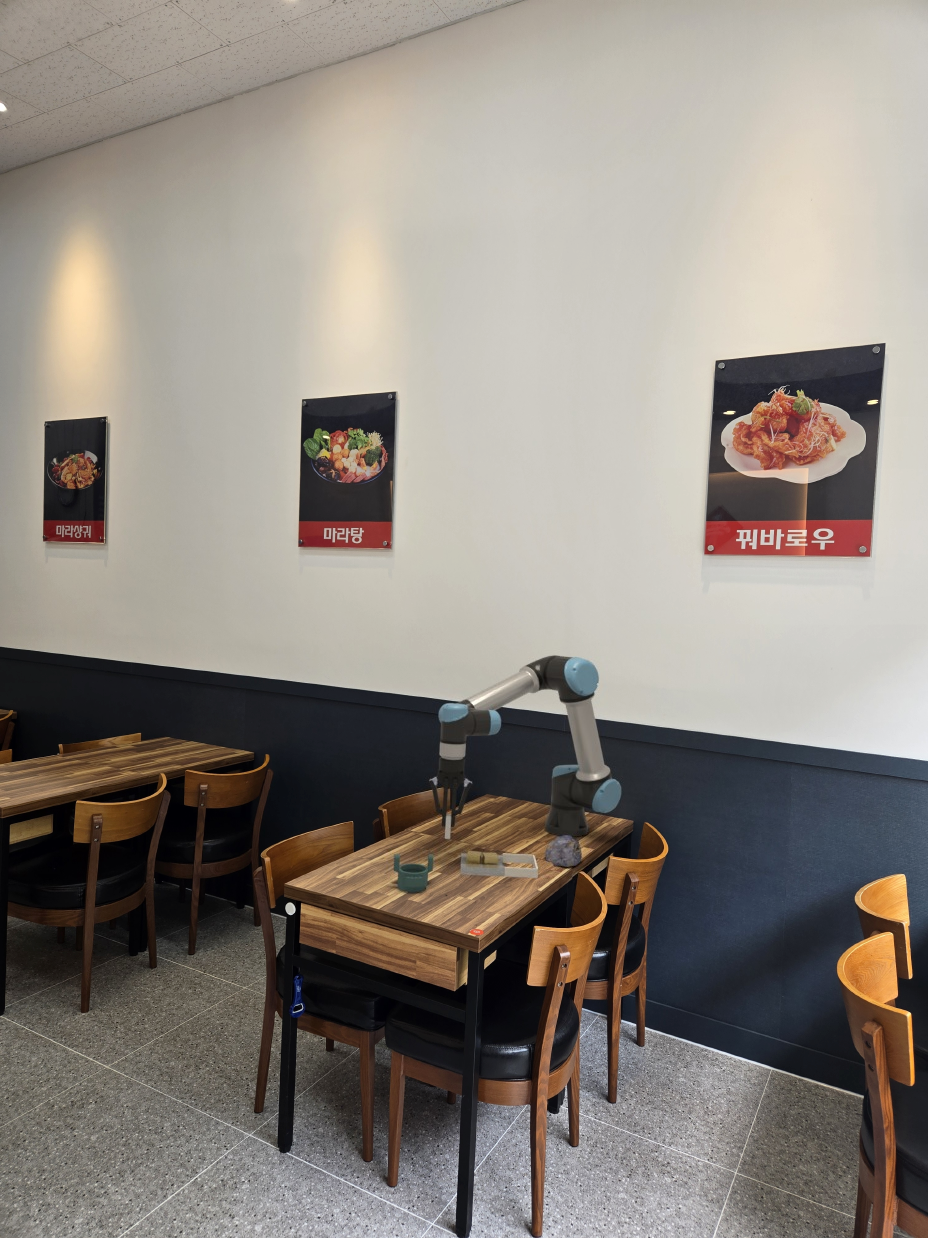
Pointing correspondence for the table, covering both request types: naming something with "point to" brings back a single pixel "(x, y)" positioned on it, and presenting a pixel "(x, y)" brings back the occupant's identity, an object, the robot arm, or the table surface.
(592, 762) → the robot arm
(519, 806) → the table surface
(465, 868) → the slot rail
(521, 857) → the tray
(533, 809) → the table surface
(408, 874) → the teal round pot
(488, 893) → the table surface
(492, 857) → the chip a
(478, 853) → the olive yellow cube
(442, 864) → the table surface
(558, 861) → the rock
